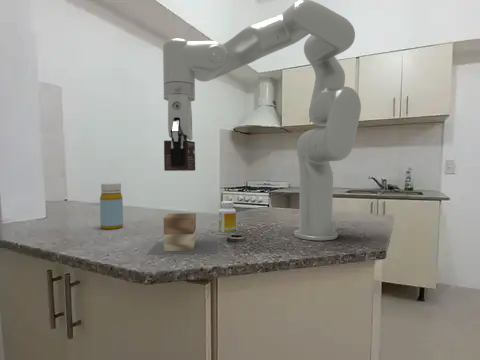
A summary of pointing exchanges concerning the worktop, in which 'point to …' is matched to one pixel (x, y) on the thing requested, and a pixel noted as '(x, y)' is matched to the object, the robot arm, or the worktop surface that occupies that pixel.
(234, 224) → the supplement bottle
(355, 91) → the robot arm
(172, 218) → the tower top
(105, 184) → the bottle
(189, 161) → the box
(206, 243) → the mat
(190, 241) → the tower base
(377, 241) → the worktop surface
